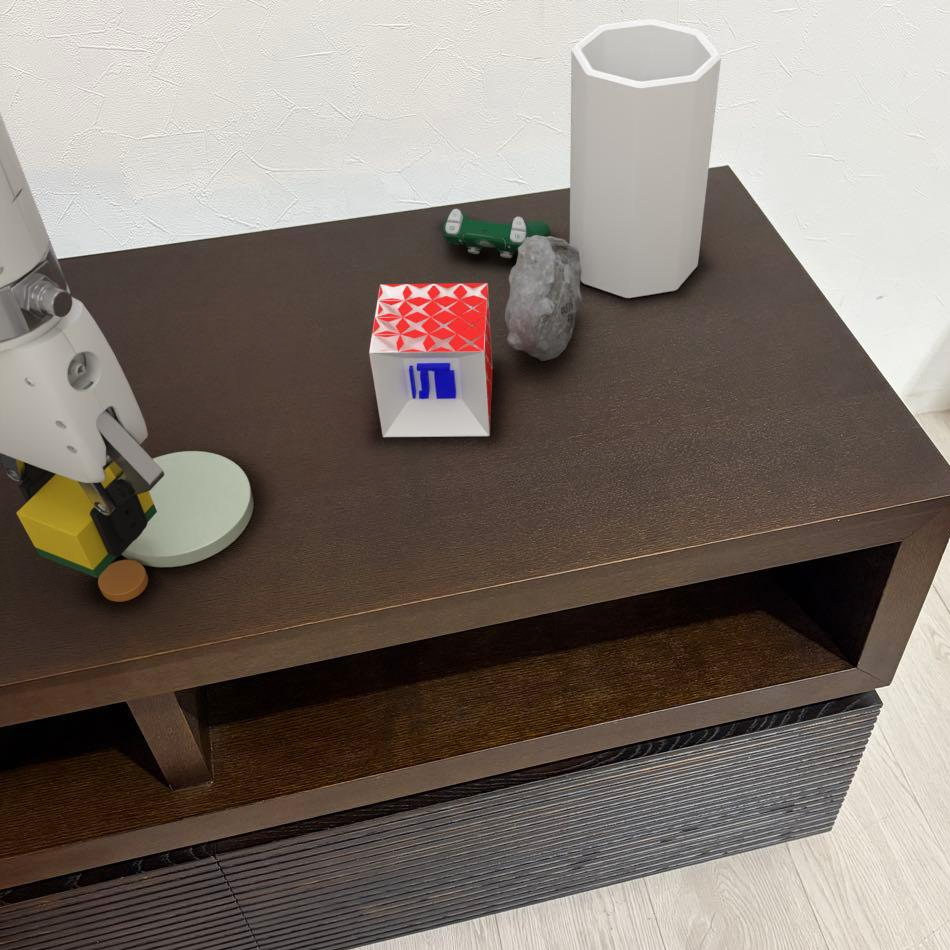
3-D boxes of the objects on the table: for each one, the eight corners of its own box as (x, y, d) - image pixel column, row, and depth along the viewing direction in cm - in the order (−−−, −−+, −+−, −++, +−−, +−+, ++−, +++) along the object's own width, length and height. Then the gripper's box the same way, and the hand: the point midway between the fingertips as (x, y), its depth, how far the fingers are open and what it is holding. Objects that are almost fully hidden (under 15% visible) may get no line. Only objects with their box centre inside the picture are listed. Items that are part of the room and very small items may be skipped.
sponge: (97, 578, 67) (76, 536, 64) (39, 555, 68) (15, 512, 65) (157, 511, 71) (140, 468, 68) (101, 491, 72) (81, 447, 69)
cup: (700, 230, 99) (724, 21, 85) (694, 305, 91) (718, 89, 77) (577, 222, 100) (580, 13, 86) (561, 294, 92) (561, 80, 79)
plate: (76, 540, 74) (70, 528, 74) (166, 447, 81) (162, 435, 80) (197, 586, 72) (192, 574, 71) (281, 486, 78) (278, 474, 77)
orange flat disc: (91, 593, 71) (87, 586, 71) (120, 561, 73) (117, 553, 73) (129, 608, 71) (125, 600, 70) (157, 574, 72) (154, 567, 72)
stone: (598, 382, 85) (602, 273, 77) (511, 391, 84) (507, 282, 77) (579, 310, 91) (581, 202, 83) (497, 318, 90) (492, 210, 83)
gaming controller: (448, 255, 100) (429, 241, 94) (454, 212, 99) (436, 196, 93) (546, 268, 98) (534, 254, 92) (553, 225, 98) (541, 209, 92)
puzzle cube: (492, 367, 86) (488, 283, 80) (489, 436, 81) (484, 351, 75) (391, 368, 86) (378, 284, 80) (381, 437, 81) (367, 352, 75)
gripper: (168, 286, 55) (242, 527, 69) (-88, 209, 60) (30, 450, 73) (68, 376, 51) (169, 615, 64) (-200, 285, 55) (-52, 526, 69)
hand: (94, 525), depth 69 cm, fingers closed on sponge, 4 cm apart
